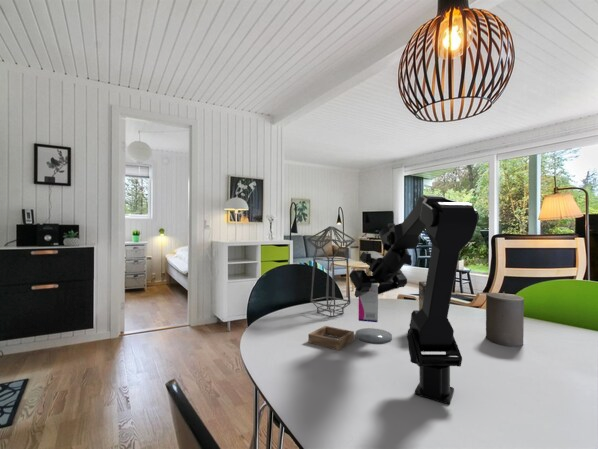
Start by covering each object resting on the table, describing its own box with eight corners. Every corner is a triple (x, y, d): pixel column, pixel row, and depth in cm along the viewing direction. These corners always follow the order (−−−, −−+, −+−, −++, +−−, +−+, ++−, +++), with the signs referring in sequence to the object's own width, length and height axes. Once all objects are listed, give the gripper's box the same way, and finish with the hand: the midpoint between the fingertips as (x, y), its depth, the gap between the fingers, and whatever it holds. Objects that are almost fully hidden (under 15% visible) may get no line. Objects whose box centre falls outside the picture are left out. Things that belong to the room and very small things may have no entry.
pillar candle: (478, 337, 96) (478, 289, 96) (500, 333, 99) (500, 287, 100) (509, 349, 87) (509, 296, 87) (532, 344, 90) (532, 293, 90)
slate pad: (385, 346, 88) (385, 342, 88) (349, 338, 94) (349, 335, 94) (396, 335, 97) (396, 332, 97) (363, 329, 103) (363, 326, 103)
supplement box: (378, 317, 97) (378, 281, 97) (377, 322, 92) (378, 284, 92) (359, 315, 99) (360, 280, 99) (358, 320, 93) (358, 283, 93)
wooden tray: (339, 350, 84) (339, 341, 84) (308, 342, 90) (308, 334, 90) (353, 339, 93) (353, 331, 93) (324, 333, 98) (324, 325, 98)
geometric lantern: (303, 312, 123) (304, 226, 124) (329, 306, 134) (330, 226, 135) (332, 321, 112) (333, 225, 113) (358, 313, 122) (359, 226, 123)
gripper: (399, 242, 97) (375, 273, 106) (353, 242, 88) (331, 276, 97) (420, 269, 90) (392, 300, 99) (372, 273, 81) (346, 306, 90)
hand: (365, 295), depth 97 cm, fingers closed on supplement box, 8 cm apart
